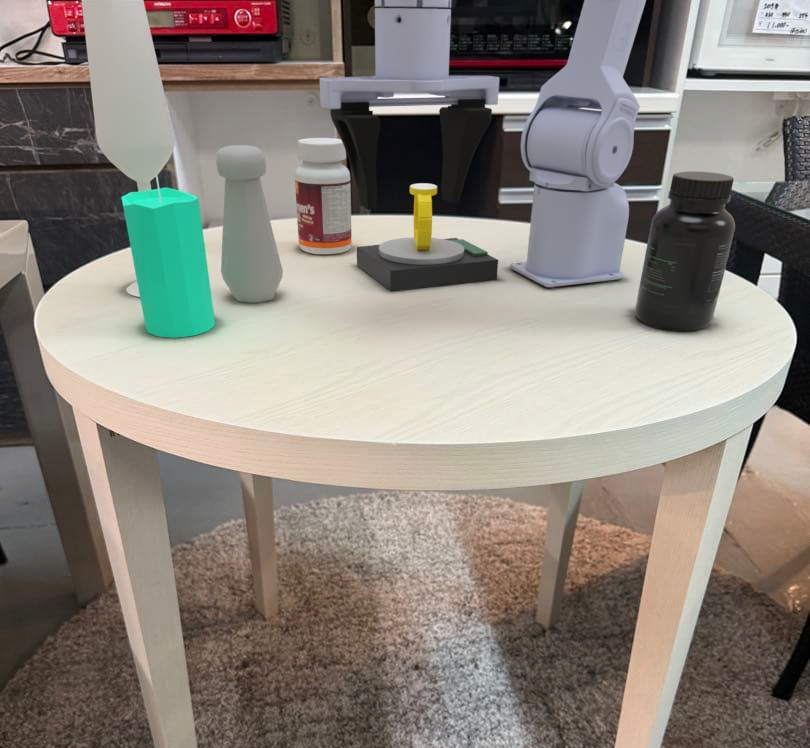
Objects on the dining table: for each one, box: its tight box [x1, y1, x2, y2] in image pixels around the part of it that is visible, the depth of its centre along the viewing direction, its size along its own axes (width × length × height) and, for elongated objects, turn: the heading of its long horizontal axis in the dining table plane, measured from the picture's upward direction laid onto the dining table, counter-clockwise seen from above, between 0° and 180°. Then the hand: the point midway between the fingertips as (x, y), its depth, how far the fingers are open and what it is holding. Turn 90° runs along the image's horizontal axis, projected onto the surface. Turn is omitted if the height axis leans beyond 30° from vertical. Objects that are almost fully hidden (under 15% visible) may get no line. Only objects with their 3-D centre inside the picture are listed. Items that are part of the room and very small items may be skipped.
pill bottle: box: [294, 137, 353, 255], centre depth 85 cm, size 6×6×11 cm
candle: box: [121, 175, 216, 339], centre depth 63 cm, size 6×6×12 cm
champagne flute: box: [81, 0, 176, 298], centre depth 68 cm, size 7×7×24 cm
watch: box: [409, 182, 438, 250], centre depth 78 cm, size 6×3×6 cm, turn 4°
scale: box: [356, 236, 499, 292], centre depth 80 cm, size 12×10×3 cm
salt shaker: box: [215, 144, 284, 304], centre depth 70 cm, size 6×6×13 cm
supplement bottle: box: [634, 171, 736, 332], centre depth 66 cm, size 7×7×12 cm
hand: (410, 204), depth 64 cm, fingers open, 7 cm apart
